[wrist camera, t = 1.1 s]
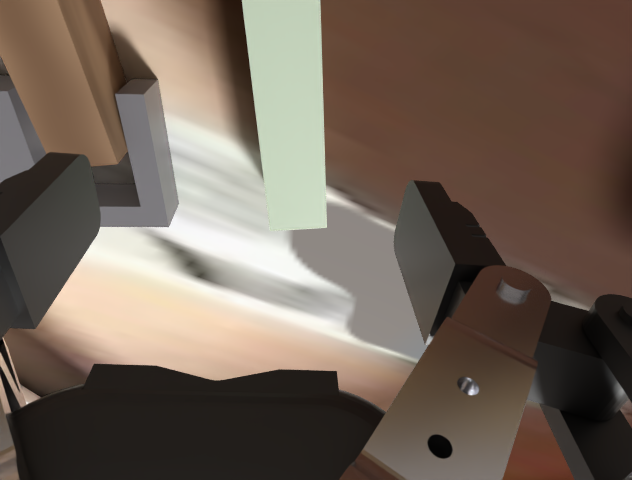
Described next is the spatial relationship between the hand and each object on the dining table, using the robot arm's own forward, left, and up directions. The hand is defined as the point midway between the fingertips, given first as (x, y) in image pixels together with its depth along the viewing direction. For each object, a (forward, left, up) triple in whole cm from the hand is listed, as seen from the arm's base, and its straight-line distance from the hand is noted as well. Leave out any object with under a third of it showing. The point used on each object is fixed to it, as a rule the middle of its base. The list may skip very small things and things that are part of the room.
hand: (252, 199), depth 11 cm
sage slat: (-1, +1, -17) cm, 17 cm away
